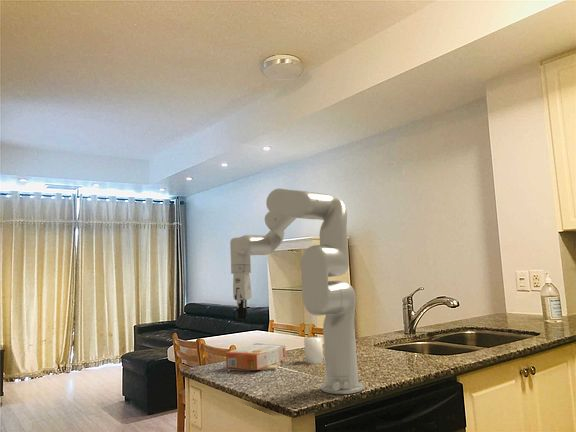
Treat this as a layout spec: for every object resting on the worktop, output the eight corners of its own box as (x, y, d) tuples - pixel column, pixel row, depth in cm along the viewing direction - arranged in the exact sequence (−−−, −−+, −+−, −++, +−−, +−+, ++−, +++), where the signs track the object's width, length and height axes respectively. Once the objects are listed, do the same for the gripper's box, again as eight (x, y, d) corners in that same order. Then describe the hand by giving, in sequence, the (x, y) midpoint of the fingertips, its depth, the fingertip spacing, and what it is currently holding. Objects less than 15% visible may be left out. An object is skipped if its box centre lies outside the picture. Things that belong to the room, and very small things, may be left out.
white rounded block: (322, 363, 166) (321, 339, 167) (304, 364, 167) (303, 339, 168) (323, 359, 172) (322, 336, 174) (306, 360, 173) (305, 337, 175)
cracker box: (256, 371, 154) (286, 359, 172) (256, 354, 155) (286, 343, 173) (225, 368, 161) (257, 357, 179) (225, 352, 162) (257, 342, 180)
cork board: (275, 370, 158) (275, 368, 158) (227, 371, 160) (227, 369, 160) (282, 361, 173) (282, 359, 173) (238, 362, 176) (238, 360, 176)
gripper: (245, 269, 158) (247, 320, 156) (254, 269, 173) (256, 316, 170) (225, 270, 159) (227, 321, 157) (236, 270, 174) (238, 317, 172)
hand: (242, 318), depth 164 cm, fingers closed
